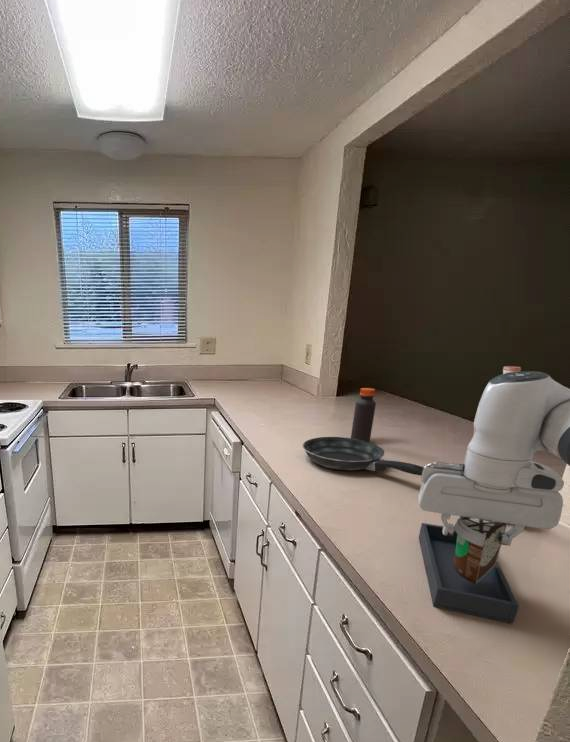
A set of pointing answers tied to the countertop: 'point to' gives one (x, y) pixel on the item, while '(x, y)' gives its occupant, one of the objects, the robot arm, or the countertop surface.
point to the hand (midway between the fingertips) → (475, 538)
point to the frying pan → (353, 455)
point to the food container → (476, 547)
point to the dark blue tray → (463, 580)
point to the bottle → (364, 415)
